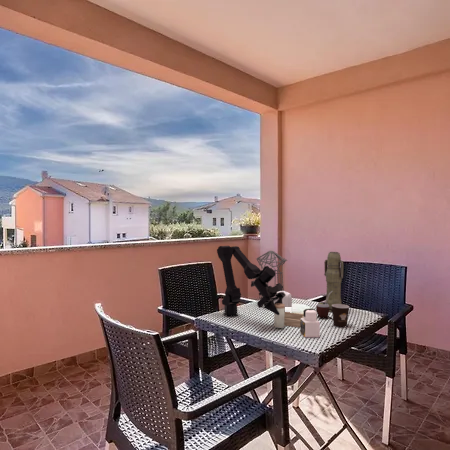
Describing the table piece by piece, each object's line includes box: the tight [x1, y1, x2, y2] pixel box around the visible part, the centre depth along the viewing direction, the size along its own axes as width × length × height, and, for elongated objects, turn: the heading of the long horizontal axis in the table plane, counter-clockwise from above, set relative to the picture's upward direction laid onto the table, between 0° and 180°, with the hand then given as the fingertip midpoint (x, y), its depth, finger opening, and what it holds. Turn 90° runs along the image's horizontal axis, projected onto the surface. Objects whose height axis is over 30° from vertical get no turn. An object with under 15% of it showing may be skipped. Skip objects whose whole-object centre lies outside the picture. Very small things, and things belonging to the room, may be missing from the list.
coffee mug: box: [325, 303, 350, 328], centre depth 185 cm, size 12×9×10 cm
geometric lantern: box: [256, 250, 288, 307], centre depth 222 cm, size 16×16×35 cm
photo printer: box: [277, 290, 293, 308], centre depth 209 cm, size 10×4×12 cm, turn 39°
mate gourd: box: [315, 291, 333, 320], centre depth 199 cm, size 8×8×15 cm
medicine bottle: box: [299, 308, 321, 338], centre depth 168 cm, size 7×7×12 cm
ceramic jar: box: [273, 303, 285, 329], centre depth 178 cm, size 5×5×11 cm
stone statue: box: [323, 251, 345, 314], centre depth 213 cm, size 9×12×35 cm
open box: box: [284, 312, 303, 328], centre depth 188 cm, size 13×13×4 cm
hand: (281, 313), depth 177 cm, fingers closed on ceramic jar, 5 cm apart
